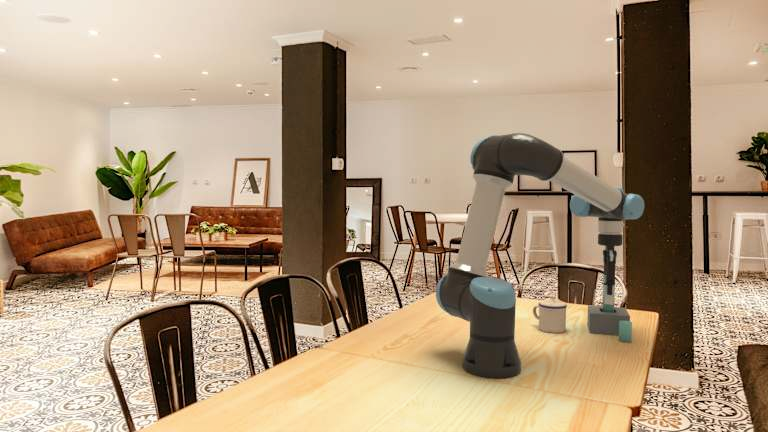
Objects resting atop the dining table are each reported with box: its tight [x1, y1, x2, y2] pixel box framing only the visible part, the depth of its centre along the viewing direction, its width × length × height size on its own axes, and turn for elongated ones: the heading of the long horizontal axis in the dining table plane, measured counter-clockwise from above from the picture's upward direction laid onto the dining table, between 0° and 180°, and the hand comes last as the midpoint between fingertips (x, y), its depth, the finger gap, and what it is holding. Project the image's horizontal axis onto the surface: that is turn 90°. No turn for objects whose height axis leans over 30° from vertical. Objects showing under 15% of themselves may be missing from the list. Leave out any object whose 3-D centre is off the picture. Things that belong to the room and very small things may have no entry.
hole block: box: [586, 305, 631, 336], centre depth 178 cm, size 12×12×6 cm
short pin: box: [618, 320, 633, 344], centre depth 165 cm, size 4×4×6 cm
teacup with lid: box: [532, 294, 568, 334], centre depth 179 cm, size 12×9×12 cm
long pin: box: [602, 274, 616, 313], centre depth 177 cm, size 4×4×15 cm
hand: (608, 302), depth 177 cm, fingers closed on long pin, 3 cm apart
